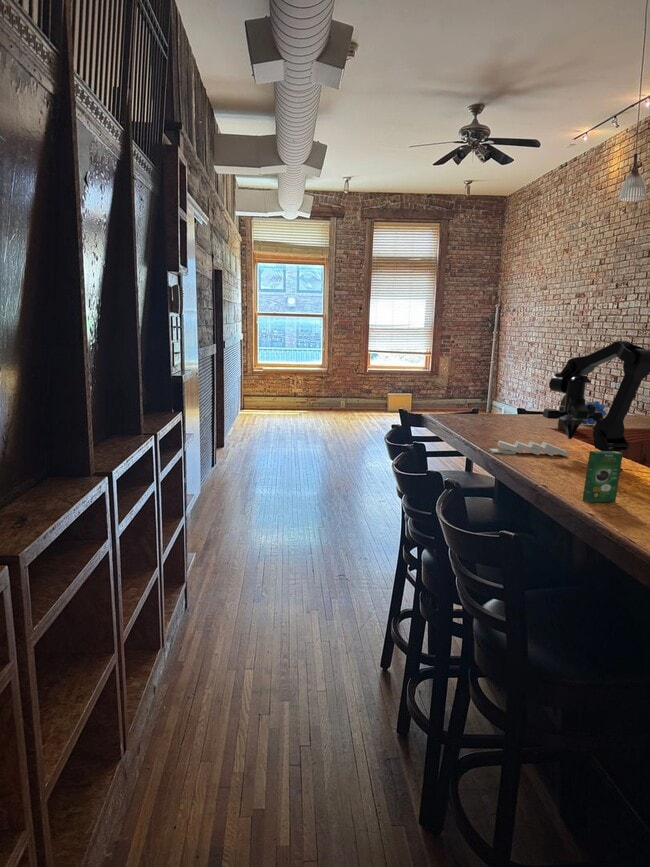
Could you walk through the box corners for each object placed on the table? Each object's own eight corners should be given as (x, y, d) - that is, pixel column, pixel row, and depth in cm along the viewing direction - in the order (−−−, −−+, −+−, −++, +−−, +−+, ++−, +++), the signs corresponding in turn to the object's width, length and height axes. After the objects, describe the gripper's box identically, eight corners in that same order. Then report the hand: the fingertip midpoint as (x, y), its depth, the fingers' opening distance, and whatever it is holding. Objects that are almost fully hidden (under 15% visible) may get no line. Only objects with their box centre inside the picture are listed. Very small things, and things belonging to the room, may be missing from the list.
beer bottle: (553, 429, 248) (559, 376, 244) (561, 427, 253) (567, 375, 249) (570, 431, 243) (577, 377, 238) (578, 430, 248) (585, 377, 243)
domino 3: (540, 451, 191) (518, 443, 192) (538, 455, 192) (516, 447, 192) (537, 448, 196) (515, 440, 196) (535, 452, 196) (514, 444, 197)
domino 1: (511, 454, 196) (489, 452, 197) (512, 449, 196) (489, 448, 196) (515, 456, 192) (492, 455, 192) (516, 452, 192) (492, 451, 192)
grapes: (604, 425, 264) (607, 400, 262) (604, 427, 258) (607, 402, 256) (577, 422, 269) (580, 398, 267) (577, 424, 263) (580, 400, 261)
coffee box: (609, 499, 142) (615, 450, 140) (616, 502, 139) (624, 452, 137) (581, 500, 140) (588, 450, 138) (589, 503, 138) (595, 452, 135)
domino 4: (554, 452, 191) (533, 443, 191) (552, 456, 191) (531, 447, 191) (550, 449, 195) (529, 440, 195) (548, 453, 196) (527, 444, 196)
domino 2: (522, 449, 192) (499, 441, 194) (520, 453, 192) (498, 446, 194) (520, 447, 197) (498, 440, 198) (519, 451, 197) (497, 444, 199)
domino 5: (568, 452, 190) (547, 444, 191) (566, 456, 191) (544, 448, 191) (563, 450, 195) (543, 441, 195) (561, 454, 195) (540, 445, 195)
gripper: (556, 396, 182) (550, 442, 185) (613, 398, 181) (607, 444, 184) (544, 392, 193) (539, 436, 196) (598, 395, 192) (593, 438, 195)
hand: (569, 438), depth 192 cm, fingers closed
